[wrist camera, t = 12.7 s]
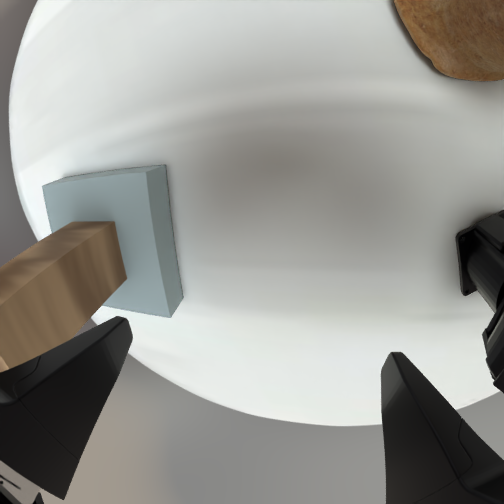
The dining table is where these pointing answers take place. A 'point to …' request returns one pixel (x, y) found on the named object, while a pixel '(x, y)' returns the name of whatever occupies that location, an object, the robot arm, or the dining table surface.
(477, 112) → the dining table surface
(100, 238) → the walnut column
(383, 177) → the dining table surface
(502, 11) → the sandstone flared vase
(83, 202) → the slate base
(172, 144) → the dining table surface
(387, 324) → the dining table surface
